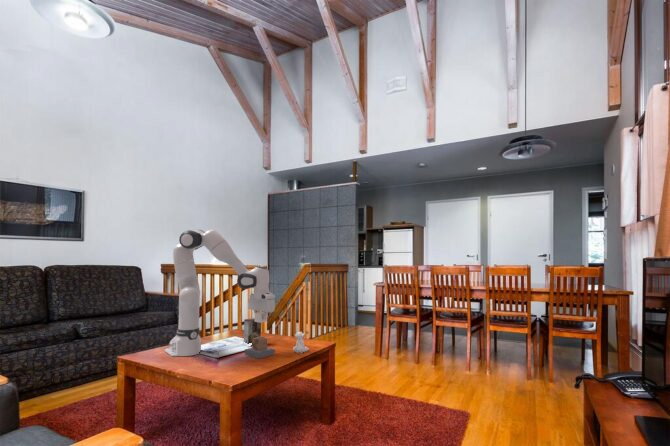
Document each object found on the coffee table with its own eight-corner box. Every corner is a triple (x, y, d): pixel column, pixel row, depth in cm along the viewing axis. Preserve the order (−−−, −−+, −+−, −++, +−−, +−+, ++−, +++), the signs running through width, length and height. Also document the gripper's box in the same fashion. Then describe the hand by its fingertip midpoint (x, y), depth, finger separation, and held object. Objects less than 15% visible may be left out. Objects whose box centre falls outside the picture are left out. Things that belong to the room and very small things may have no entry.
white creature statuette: (308, 350, 226) (309, 330, 227) (307, 354, 218) (307, 333, 219) (293, 349, 227) (293, 329, 227) (291, 353, 218) (291, 332, 219)
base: (244, 354, 214) (244, 349, 215) (261, 350, 224) (261, 345, 224) (258, 358, 207) (258, 352, 207) (274, 354, 216) (274, 348, 216)
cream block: (254, 321, 216) (254, 312, 217) (261, 320, 220) (261, 311, 220) (260, 322, 213) (260, 313, 213) (266, 321, 217) (267, 312, 217)
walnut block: (252, 348, 215) (252, 338, 215) (260, 346, 220) (260, 336, 220) (258, 350, 211) (259, 340, 212) (267, 348, 216) (267, 338, 216)
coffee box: (256, 343, 242) (256, 317, 243) (260, 344, 237) (261, 319, 239) (243, 345, 236) (243, 319, 238) (247, 347, 232) (248, 320, 233)
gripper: (245, 293, 222) (245, 317, 221) (268, 296, 209) (267, 321, 208) (254, 292, 227) (253, 315, 226) (276, 295, 214) (276, 320, 213)
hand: (260, 318), depth 217 cm, fingers closed on cream block, 5 cm apart
